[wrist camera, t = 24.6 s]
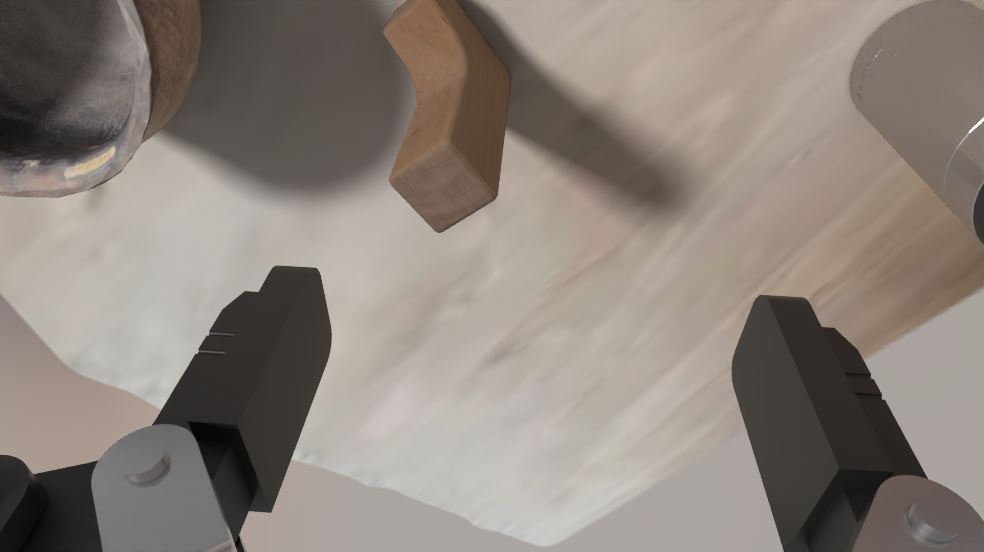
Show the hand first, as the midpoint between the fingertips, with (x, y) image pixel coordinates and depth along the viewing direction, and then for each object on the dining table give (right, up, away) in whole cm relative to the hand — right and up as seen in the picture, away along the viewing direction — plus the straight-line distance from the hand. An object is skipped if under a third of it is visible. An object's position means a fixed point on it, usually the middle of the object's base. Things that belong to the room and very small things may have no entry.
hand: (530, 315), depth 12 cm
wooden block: (-4, +18, +35) cm, 40 cm away
